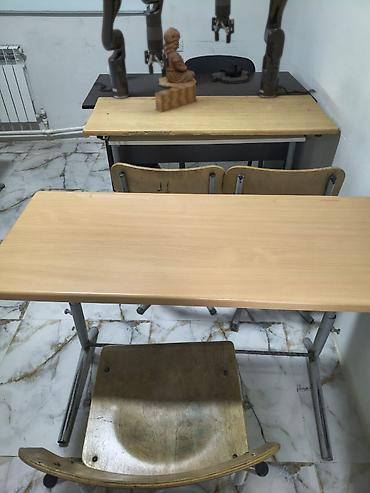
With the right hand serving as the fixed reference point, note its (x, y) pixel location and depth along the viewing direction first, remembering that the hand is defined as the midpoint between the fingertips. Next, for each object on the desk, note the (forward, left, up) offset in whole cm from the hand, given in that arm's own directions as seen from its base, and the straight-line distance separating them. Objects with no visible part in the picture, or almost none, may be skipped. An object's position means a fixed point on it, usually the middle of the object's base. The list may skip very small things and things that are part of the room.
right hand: (222, 42), depth 180 cm
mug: (+57, -54, -28) cm, 83 cm away
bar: (+25, +5, -28) cm, 38 cm away
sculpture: (+20, -36, -28) cm, 50 cm away
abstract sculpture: (-15, -36, -28) cm, 48 cm away
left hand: (+35, +12, -10) cm, 38 cm away
